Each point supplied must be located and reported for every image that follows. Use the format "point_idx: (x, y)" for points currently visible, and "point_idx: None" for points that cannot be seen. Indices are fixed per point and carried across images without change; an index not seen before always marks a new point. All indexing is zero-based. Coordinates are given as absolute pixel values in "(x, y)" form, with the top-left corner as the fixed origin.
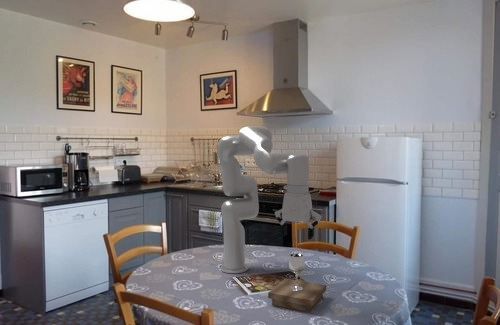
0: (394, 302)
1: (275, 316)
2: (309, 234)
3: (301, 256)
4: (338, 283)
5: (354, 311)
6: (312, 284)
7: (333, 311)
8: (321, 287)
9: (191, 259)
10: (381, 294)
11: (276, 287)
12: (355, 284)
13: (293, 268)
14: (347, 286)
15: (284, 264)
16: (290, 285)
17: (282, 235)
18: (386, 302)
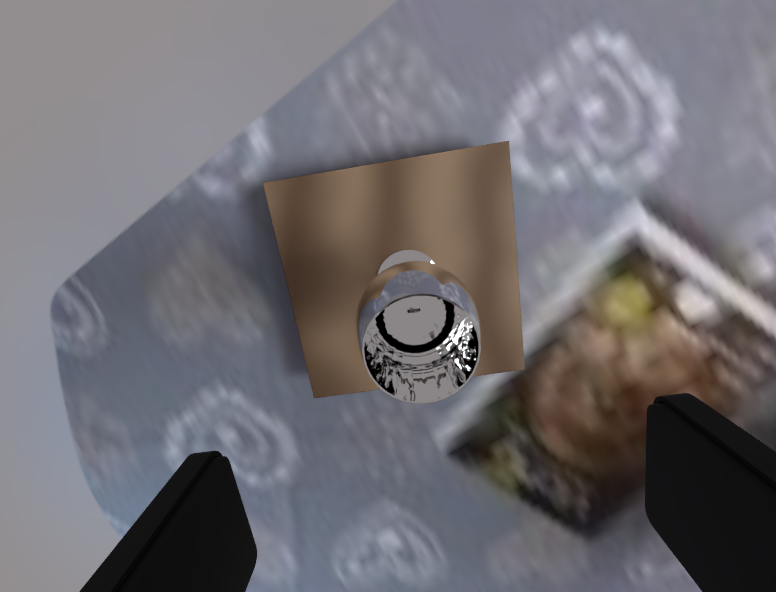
0: (102, 461)
1: (399, 57)
2: (143, 515)
3: (403, 393)
4: (352, 517)
5: (167, 308)
6: None
7: (229, 260)
8: (316, 360)
9: None
10: None
11: (504, 232)
12: (294, 539)
13: (409, 261)
14: (309, 508)
15: (648, 588)
16: None
17: (686, 394)
18: (123, 447)
